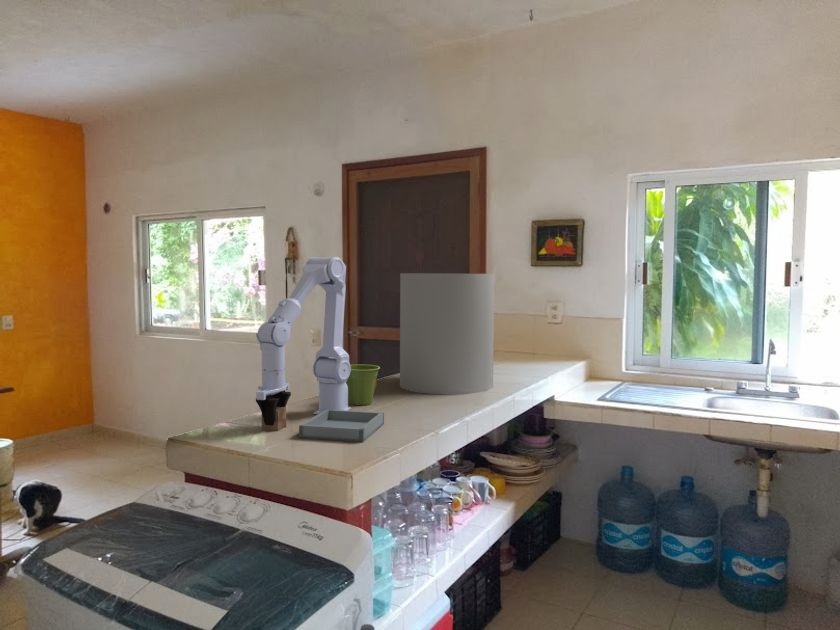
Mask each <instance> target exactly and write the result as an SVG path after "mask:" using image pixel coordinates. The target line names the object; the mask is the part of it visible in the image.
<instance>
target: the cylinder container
mask: <svg viewBox="0 0 840 630" xmlns="http://www.w3.org/2000/svg"><path fill="white" fill-rule="evenodd" d="M495 274H496V273H443V272H442V273H441V272H439V273H438V272H437V273H434V272H432V273H431V272H430V273H428V272H427V273H426V272H425V273H424V272H423V273H421V272H420V273H418V272H417V273H415V272H414V273H410V272H409V273H408V272H407V273H404V272H403V273H400V275H399V276H400V277H399V279H400V287H399V288H400V289H399V290H400V291H399V292H400V294H399V297H400V298H399V300H400V301H399V303H400V304H399V305H400V306H399V315H400V316H399V318H400V319H399V387H400V388H402V389H405V390H406V391H408V390H409V392H415V393H423V394H431V395H432V394H433V395H434V394H435V395H468V394H470V395H471V394H477V393H481V392H483V393H484V392H488V391H490V390H491V389H492V388H494V354H495V353H494V351H495V350H494V349H495V348H494V345H495V344H494V343H495V341H494V340H495V283H496V282H495V281H496V279H495V278H496V275H495Z"/></svg>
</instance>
